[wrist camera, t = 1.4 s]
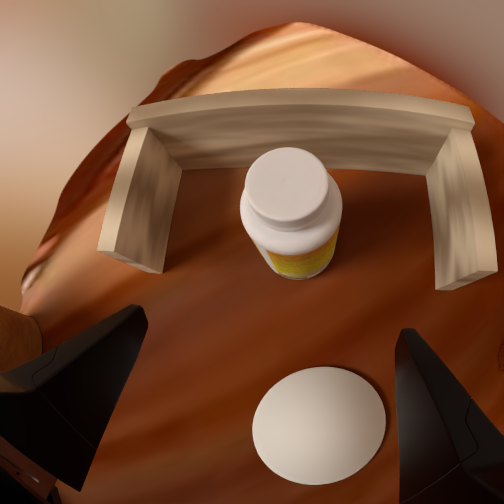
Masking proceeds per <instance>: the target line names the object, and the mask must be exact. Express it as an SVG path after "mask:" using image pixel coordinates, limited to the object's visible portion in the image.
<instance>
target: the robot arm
mask: <svg viewBox="0 0 504 504" xmlns="http://www.w3.org/2000/svg"><path fill="white" fill-rule="evenodd" d="M147 329H148V321H147V318H146V315H145V313H144V310H143V308H142V306H140V305H134V304H131V305H129V306H127V307H126V308H124V309H122V310H120V311H118V312H117V313H115V314H113V315H111V316H109V317H108V318H106V319H104V320H102V321H101V322H99V323H97V324H95V325H94V326H92V327H90V328H88V329H86V330H85V331H83V332H81V333H79V334H78V335H76V336H74V337H72V338H71V339H69V340H67V341H65V342H64V343H62V344H60V345H59V346H57V347H55V348H53V349H51V350H50V351H48V352H46V353H44V354H42V355H41V356H39V357H36V358H34V359H32V360H30V361H28V362H26V363H24V364H22V365H20V366H18V367H16V368H14V369H12V370H9V371H7V372H2V373H0V504H62V503H61V500H60V496H59V493H58V489H57V487H56V486H54V485H55V483H56V481H57V479H59V480H60V481H62V482H63V483H65V484H67V485H68V486H70V487H72V488H73V489H75V490H77V491H78V492H80V491H81V489H82V487H83V484H84V481H85V479H86V476H87V474H88V471H89V468H90V466H91V463H92V461H93V458H94V456H95V453H96V451H97V448H98V446H99V443H100V441H101V438H102V436H103V434H104V431H105V429H106V427H107V424H108V422H109V420H110V417H111V415H112V413H113V410H114V408H115V406H116V404H117V401H118V399H119V397H120V395H121V392H122V390H123V388H124V386H125V384H126V381H127V379H128V377H129V375H130V373H131V371H132V369H133V366H134V364H135V362H136V359H137V357H138V354H139V351H140V348H141V345H142V343H143V340H144V337H145V334H146V331H147ZM395 397H396V408H397V421H398V437H399V464H400V491H399V504H504V436H503V435H502V433H501V432H500V431H499V430H498V429H497V428H496V427H495V426H494V425H493V423H492V422H491V421H490V420H489V419H488V418H487V417H486V415H485V414H484V413H483V412H482V410H481V409H480V408H479V407H478V405H477V404H476V403H475V401H474V400H473V399H471V396H470V395H469V394H468V393H467V391H466V390H465V389H464V387H463V386H462V385H461V384H460V382H459V381H458V380H457V379H456V377H455V376H454V375H453V374H452V372H451V371H450V370H449V369H448V368H447V366H446V365H445V364H444V363H443V362H442V360H441V359H440V358H439V357H438V356H437V354H436V353H435V352H434V351H433V350H432V348H431V347H430V346H429V345H428V344H427V343H426V341H425V340H424V339H423V338H422V337H421V336H420V335H419V333H418V332H417V331H416V330H415V329H413V328H404V329H402V330H401V332H400V335H399V338H398V341H397V344H396V347H395Z"/></svg>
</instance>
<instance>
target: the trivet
mask: <svg viewBox="0 0 504 504" xmlns="http://www.w3.org/2000/svg"><path fill="white" fill-rule="evenodd" d="M385 426H386V415H385V410H384V406H383V403H382V401H381V399H380V397H379V395H378V393H377V392H376V391H375V389H374V388H373V387H372V386H371V385H370V384H369V383H368V382H367V381H366V380H364V379H363V378H361V377H360V376H358V375H356V374H355V373H353V372H350V371H347V370H345V369H340V368H336V367H314V368H308V369H304V370H300V371H298V372H295V373H293V374H291V375H289V376H287V377H285V378H283V379H282V380H281V381H279V382H278V383H277V384H275V385H274V386H273V387H272V388H271V389H270V390H269V391H268V392H267V394H266V395H265V396H264V397H263V399H262V400H261V402H260V404H259V406H258V408H257V410H256V413H255V416H254V420H253V440H254V444H255V447H256V450H257V452H258V454H259V456H260V457H261V459H262V460H263V462H264V463H265V464H266V465H267V466H268V467H269V468H270V469H271V470H272V471H273V472H275V473H276V474H278V475H279V476H281V477H283V478H285V479H287V480H290V481H293V482H297V483H301V484H309V485H320V484H328V483H332V482H336V481H339V480H342V479H344V478H347V477H349V476H351V475H352V474H354V473H356V472H357V471H359V470H360V469H361V468H362V467H364V466H365V465H366V464H367V463H368V462H369V461H370V460H371V459H372V457H373V456H374V455H375V453H376V452H377V450H378V448H379V447H380V445H381V442H382V440H383V437H384V433H385Z"/></svg>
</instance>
